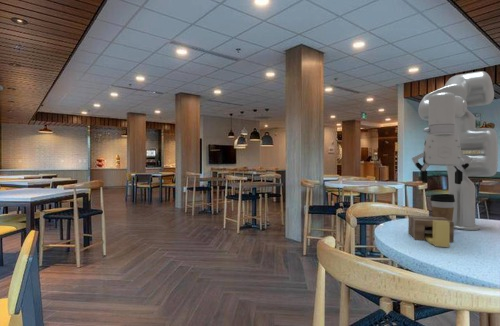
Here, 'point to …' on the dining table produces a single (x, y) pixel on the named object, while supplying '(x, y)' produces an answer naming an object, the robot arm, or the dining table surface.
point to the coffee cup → (442, 205)
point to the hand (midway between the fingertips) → (441, 183)
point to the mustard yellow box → (439, 233)
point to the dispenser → (426, 227)
